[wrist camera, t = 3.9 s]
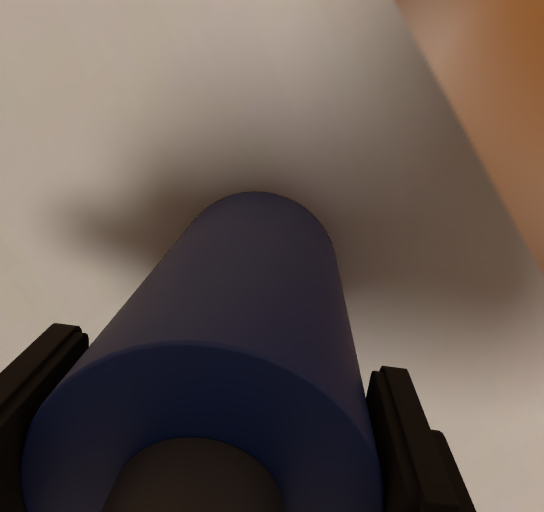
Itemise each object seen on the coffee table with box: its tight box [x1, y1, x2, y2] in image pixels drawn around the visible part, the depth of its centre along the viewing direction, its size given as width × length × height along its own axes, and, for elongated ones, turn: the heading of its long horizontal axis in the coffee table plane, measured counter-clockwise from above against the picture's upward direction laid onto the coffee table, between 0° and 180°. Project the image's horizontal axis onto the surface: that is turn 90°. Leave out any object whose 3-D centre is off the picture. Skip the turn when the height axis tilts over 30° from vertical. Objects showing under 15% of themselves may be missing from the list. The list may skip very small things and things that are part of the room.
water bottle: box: [20, 192, 385, 512], centre depth 13 cm, size 6×6×14 cm
